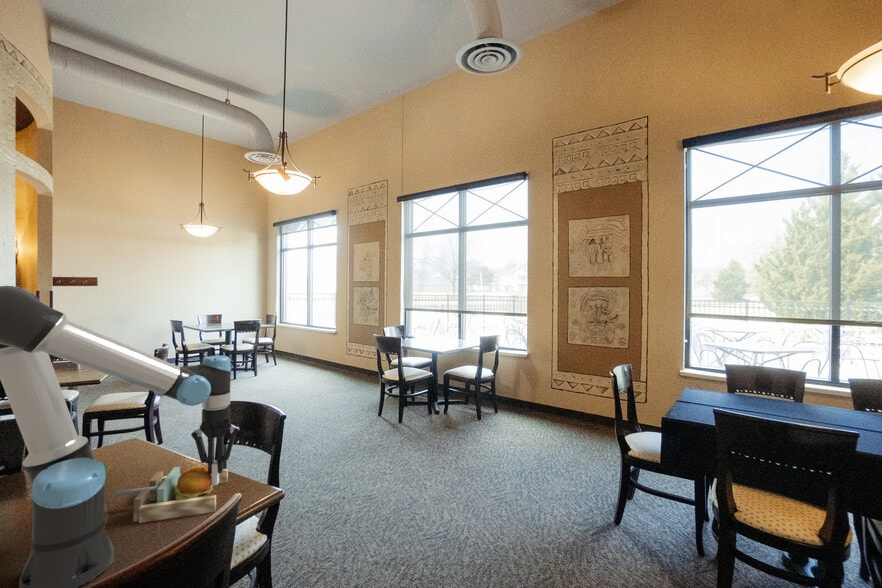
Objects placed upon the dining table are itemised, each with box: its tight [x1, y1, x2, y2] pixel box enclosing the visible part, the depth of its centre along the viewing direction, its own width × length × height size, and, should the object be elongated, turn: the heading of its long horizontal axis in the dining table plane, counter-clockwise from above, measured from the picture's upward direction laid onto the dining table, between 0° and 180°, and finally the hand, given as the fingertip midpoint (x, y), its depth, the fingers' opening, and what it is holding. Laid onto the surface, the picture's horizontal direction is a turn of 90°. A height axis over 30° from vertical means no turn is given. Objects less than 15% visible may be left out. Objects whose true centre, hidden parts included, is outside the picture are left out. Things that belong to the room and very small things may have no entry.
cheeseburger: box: [174, 465, 213, 501], centre depth 118 cm, size 10×11×10 cm
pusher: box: [114, 466, 181, 503], centre depth 113 cm, size 14×14×7 cm
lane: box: [133, 468, 229, 524], centre depth 117 cm, size 20×19×6 cm
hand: (215, 483), depth 119 cm, fingers closed
